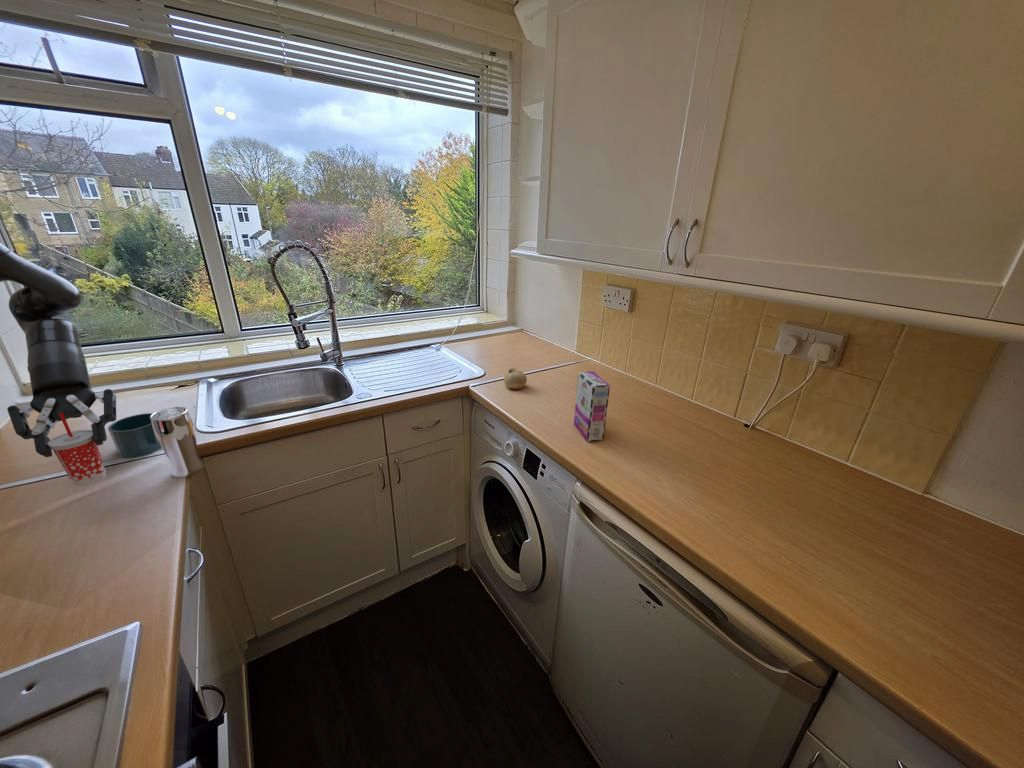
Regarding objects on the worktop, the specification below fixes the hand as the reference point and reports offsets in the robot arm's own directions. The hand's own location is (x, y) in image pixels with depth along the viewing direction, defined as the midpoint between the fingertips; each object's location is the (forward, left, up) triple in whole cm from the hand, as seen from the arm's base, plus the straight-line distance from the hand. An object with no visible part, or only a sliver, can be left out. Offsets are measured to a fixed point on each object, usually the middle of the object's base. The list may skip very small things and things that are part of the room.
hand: (73, 449), depth 74 cm
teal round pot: (+17, +22, -16) cm, 32 cm away
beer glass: (+17, +4, -16) cm, 24 cm away
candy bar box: (+77, -76, -16) cm, 110 cm away
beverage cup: (+1, +2, -8) cm, 8 cm away
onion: (+97, -44, -16) cm, 108 cm away
